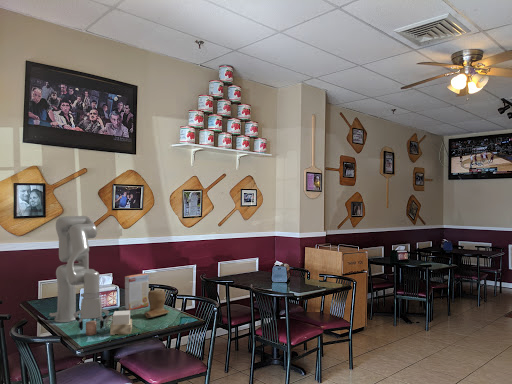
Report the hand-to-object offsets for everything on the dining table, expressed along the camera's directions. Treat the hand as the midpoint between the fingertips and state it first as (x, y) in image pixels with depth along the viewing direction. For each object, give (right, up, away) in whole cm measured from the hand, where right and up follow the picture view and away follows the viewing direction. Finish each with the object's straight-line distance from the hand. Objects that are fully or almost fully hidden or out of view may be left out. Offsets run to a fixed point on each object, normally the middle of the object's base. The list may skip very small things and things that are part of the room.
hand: (91, 328), depth 211 cm
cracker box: (+9, -4, +51) cm, 51 cm away
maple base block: (+14, -3, +5) cm, 15 cm away
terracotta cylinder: (0, -3, 0) cm, 3 cm away
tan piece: (+25, -3, +34) cm, 42 cm away
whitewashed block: (+14, +2, +5) cm, 15 cm away
